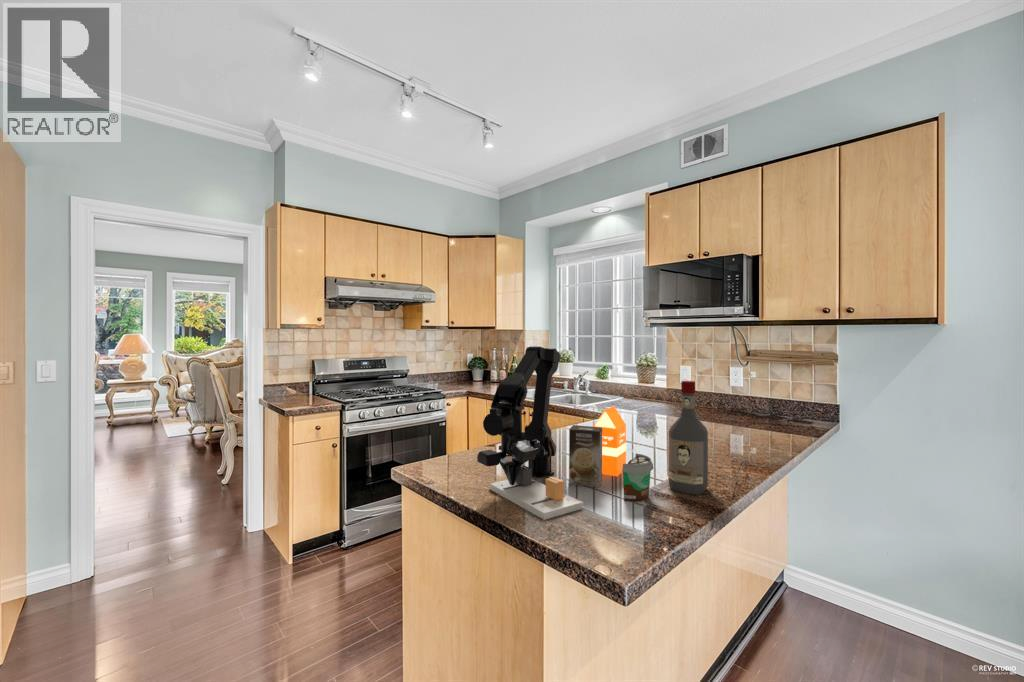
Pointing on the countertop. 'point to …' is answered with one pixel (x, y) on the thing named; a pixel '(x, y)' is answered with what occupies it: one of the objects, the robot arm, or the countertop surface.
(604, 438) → the orange juice
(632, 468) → the food container
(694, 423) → the liquor
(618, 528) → the countertop surface
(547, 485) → the orange fader
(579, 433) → the coffee box
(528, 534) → the countertop surface
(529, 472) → the block
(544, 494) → the panel
